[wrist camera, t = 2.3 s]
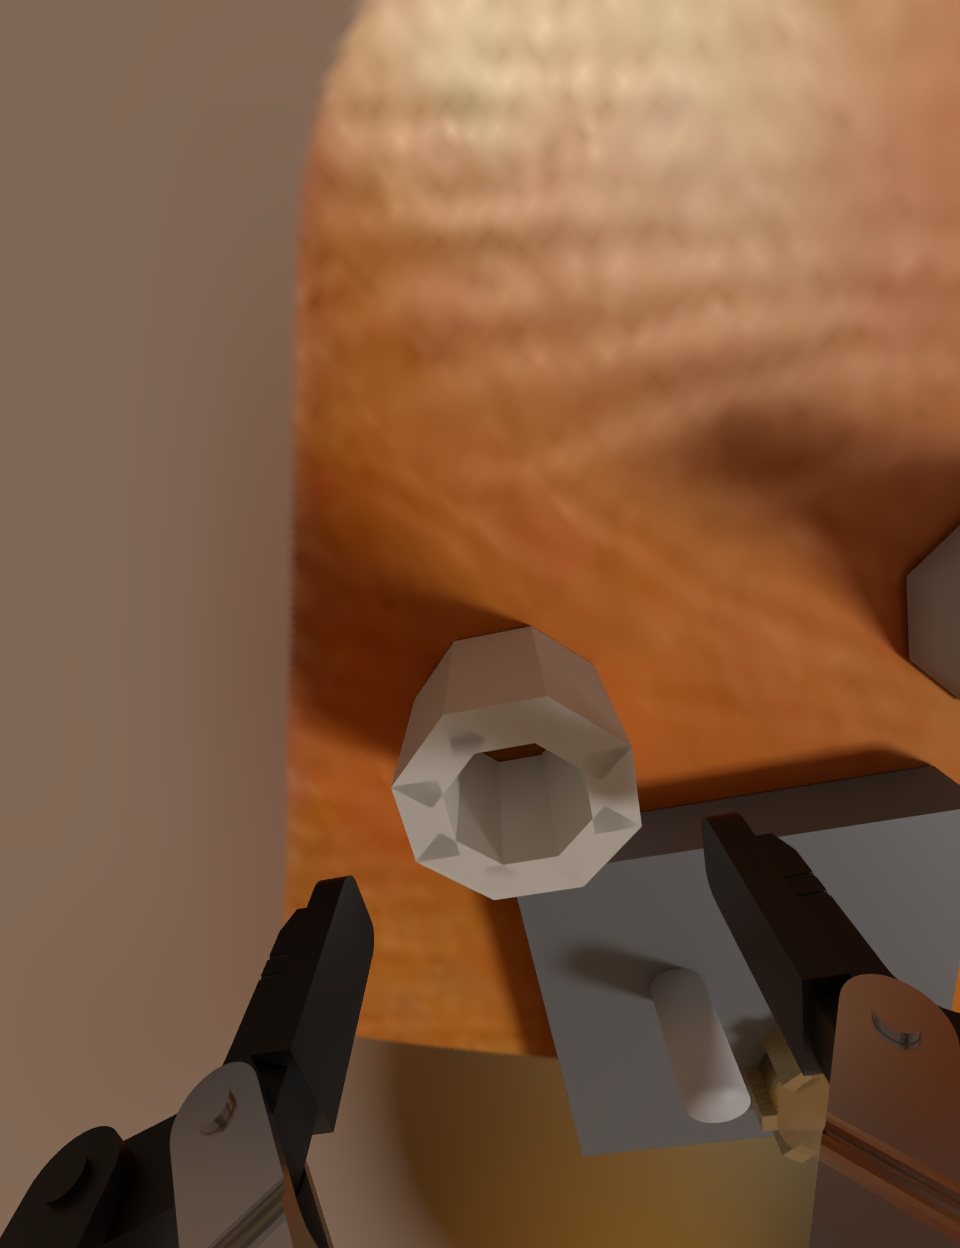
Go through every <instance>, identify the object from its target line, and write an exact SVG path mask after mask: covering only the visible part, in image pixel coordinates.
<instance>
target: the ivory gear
mask: <svg viewBox="0 0 960 1248" xmlns="http://www.w3.org/2000/svg"><path fill="white" fill-rule="evenodd" d="M533 743H536V744H537V745H539V746H541V747H543V748H544V749H545V751H544V752H543V753H542V754H541V755H537V756H531V757H525V758H519V759H514V760H508V761H502V762H498V761H496V760H495V759H493V758H491V757H489V756H487V755H485V754H484V753H482V752H487V751H493V750H498V749H504V748H510V747H515V746H521V745H527V744H533ZM391 789H392V792H393V794H394V797H395V800H396V803H397V806H398V809H399V812H400V815H401V818H402V821H403V824H404V827H405V830H406V833H407V836H408V839H409V842H410V845H411V848H412V851H413V854H414V856H415V859H416V862H417V863H419V864H421V865H423V866H425V867H427V868H429V869H431V870H434V871H436V872H438V873H440V874H442V875H444V876H446V877H448V878H450V879H452V880H454V881H456V882H458V883H460V884H462V885H464V886H466V887H468V888H470V889H472V890H474V891H476V892H478V893H480V894H482V895H485V896H487V897H489V898H491V899H493V900H498V899H505V898H512V897H518V896H525V895H532V894H538V893H545V892H552V891H559V890H565V889H572V888H579V887H584V886H585V885H586V884H587V883H588V882H589V881H590V879H591V878H592V877H593V876H594V875H595V874H596V873H597V872H598V871H599V870H600V869H601V868H602V867H603V866H604V865H605V864H606V863H607V862H608V861H609V860H610V859H611V858H612V857H613V856H614V855H615V854H616V853H617V852H618V851H619V850H620V848H621V847H622V846H623V845H624V844H625V843H626V842H627V841H628V840H629V839H630V838H631V837H632V836H633V835H634V834H635V833H636V832H637V831H638V830H639V829H640V828H641V827H642V824H641V816H640V808H639V800H638V793H637V785H636V777H635V769H634V762H633V754H632V746H631V744H630V741H629V739H628V737H627V735H626V733H625V731H624V729H623V726H622V724H621V722H620V720H619V718H618V716H617V713H616V711H615V709H614V707H613V705H612V703H611V701H610V698H609V696H608V694H607V692H606V690H605V688H604V686H603V683H602V681H601V679H600V677H599V675H598V673H597V670H596V668H595V666H594V665H593V664H591V663H589V662H588V661H586V660H585V659H583V658H581V657H580V656H578V655H577V654H575V653H573V652H572V651H570V650H568V649H567V648H565V647H564V646H562V645H560V644H559V643H557V642H556V641H554V640H552V639H551V638H549V637H548V636H546V635H544V634H543V633H541V632H539V631H538V630H536V629H535V628H533V627H531V626H529V627H524V628H519V629H514V630H509V631H504V632H499V633H494V634H488V635H483V636H478V637H473V638H468V639H463V640H458V641H454V642H453V644H452V645H451V646H450V648H449V649H448V651H447V652H446V654H445V655H444V657H443V658H442V660H441V661H440V663H439V664H438V666H437V667H436V668H435V670H434V671H433V673H432V674H431V676H430V677H429V679H428V680H427V682H426V683H425V685H424V686H423V688H422V689H421V690H420V692H419V693H418V695H417V696H416V698H415V700H414V703H413V707H412V711H411V715H410V718H409V722H408V726H407V730H406V733H405V737H404V741H403V745H402V748H401V752H400V756H399V760H398V763H397V767H396V771H395V774H394V778H393V782H392V786H391Z"/></svg>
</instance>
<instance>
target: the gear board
mask: <svg viewBox="0 0 960 1248" xmlns="http://www.w3.org/2000/svg"><path fill="white" fill-rule="evenodd" d="M732 812H738V813H739V814H740V815H741V816H742V817H743V818H744V820H745V821H746V823H747V824H748V826H749V827H750V829H751V830H752V831H753V833H754V834H755V836H756V835H762V834H768V833H772V834H774V835H775V836H777V837H778V838H780V839H781V840H782V841H784V842H785V843H787V844H788V845H790V846H791V847H793V848H794V849H795V850H796V851H797V852H798V853H799V854H800V856H801V857H802V858H803V860H804V861H805V862H806V864H807V865H808V866H809V867H810V869H811V870H812V871H813V874H814V876H816V877H817V878H818V879H819V880H820V882H821V883H822V884H823V886H824V887H825V888H826V890H827V892H828V894H829V895H831V896H832V897H833V899H834V900H835V901H836V903H837V904H838V905H839V906H840V908H841V909H842V910H843V912H844V913H845V914H846V916H847V917H848V918H849V919H850V921H851V922H852V923H853V925H854V926H855V927H856V929H857V930H858V931H859V932H860V934H861V935H862V936H863V938H864V939H865V940H866V942H867V943H868V944H869V945H870V947H871V948H872V949H873V951H874V952H875V953H876V955H877V956H878V957H879V958H880V960H881V961H882V962H883V964H884V965H885V966H886V967H887V969H888V970H889V971H890V972H891V973H892V974H893V975H894V976H895V977H896V978H897V979H898V980H900V981H902V982H904V983H907V984H908V985H910V986H912V987H914V988H916V989H917V990H919V991H920V992H922V993H923V994H924V995H926V996H927V997H928V998H929V999H931V1000H932V1001H933V1002H934V1003H935V1004H936V1005H938V1006H940V1007H942V1008H945V1009H948V1010H951V1008H952V1002H953V996H954V990H955V984H956V979H957V973H958V967H959V961H960V785H959V784H957V783H956V782H955V781H953V780H952V779H950V778H949V777H948V776H946V775H945V774H944V773H942V772H941V771H940V770H938V769H937V768H936V767H934V766H926V767H920V768H914V769H908V770H901V771H895V772H889V773H883V774H877V775H870V776H864V777H858V778H852V779H845V780H839V781H833V782H827V783H821V784H814V785H808V786H802V787H796V788H789V789H783V790H777V791H771V792H765V793H758V794H752V795H746V796H740V797H733V798H727V799H721V800H715V801H709V802H702V803H696V804H690V805H684V806H677V807H671V808H665V809H659V810H653V811H646V812H640V816H641V824H642V827H641V828H640V829H639V830H638V831H637V832H636V833H635V834H634V835H633V836H632V837H631V838H630V839H629V840H628V841H627V842H626V843H625V844H624V845H623V846H622V847H621V848H620V850H619V851H618V852H617V853H616V854H615V855H614V856H613V857H612V858H611V859H610V860H609V861H608V862H607V863H606V864H605V865H604V866H603V867H602V868H601V869H600V870H599V871H598V872H597V873H596V874H595V875H594V876H593V877H592V878H591V879H590V881H589V882H588V883H587V884H586V885H585V886H584V887H579V888H572V889H565V890H559V891H552V892H545V893H538V894H532V895H525V896H518V897H517V899H518V903H519V907H520V911H521V915H522V919H523V923H524V927H525V931H526V935H527V939H528V943H529V947H530V950H531V954H532V958H533V962H534V966H535V970H536V974H537V978H538V982H539V986H540V990H541V994H542V997H543V1001H544V1005H545V1009H546V1013H547V1017H548V1021H549V1025H550V1029H551V1033H552V1037H553V1041H554V1045H555V1048H556V1052H557V1056H558V1060H559V1064H560V1068H561V1072H562V1076H563V1080H564V1083H565V1088H566V1092H567V1095H568V1099H569V1103H570V1107H571V1111H572V1115H573V1119H574V1123H575V1127H576V1131H577V1135H578V1138H579V1143H580V1146H581V1150H582V1154H583V1156H588V1155H598V1154H607V1153H617V1152H627V1151H636V1150H646V1149H655V1148H665V1147H674V1146H683V1145H694V1144H703V1143H713V1142H722V1141H731V1140H742V1139H751V1138H761V1137H771V1136H775V1135H774V1133H773V1131H765V1132H763V1131H762V1129H761V1126H760V1124H759V1121H758V1119H757V1116H756V1114H755V1111H754V1109H753V1106H752V1103H751V1099H750V1096H749V1093H748V1091H747V1088H746V1086H745V1083H744V1074H743V1070H746V1069H755V1068H758V1067H759V1064H760V1061H761V1059H762V1057H763V1056H764V1054H765V1053H766V1052H767V1051H766V1049H765V1047H764V1045H763V1042H762V1039H763V1038H764V1037H766V1036H767V1035H768V1034H770V1033H771V1032H772V1031H774V1030H775V1029H776V1028H778V1027H779V1026H778V1024H777V1022H776V1020H775V1018H774V1016H773V1014H772V1012H771V1011H770V1009H769V1007H768V1005H767V1003H766V1001H765V999H764V997H763V995H762V993H761V991H760V989H759V987H758V985H757V983H756V981H755V979H754V977H753V975H752V973H751V971H750V969H749V967H748V965H747V963H746V961H745V959H744V957H743V955H742V953H741V951H740V949H739V947H738V945H737V943H736V941H735V939H734V937H733V935H732V933H731V931H730V929H729V927H728V925H727V923H726V921H725V919H724V918H723V916H722V914H721V912H720V910H719V908H718V906H717V904H716V902H715V899H714V897H713V895H712V892H711V889H710V886H709V883H708V879H707V875H706V869H705V859H704V849H703V838H702V827H701V820H702V818H703V817H708V816H714V815H720V814H726V813H732Z"/></svg>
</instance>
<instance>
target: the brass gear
mask: <svg viewBox="0 0 960 1248" xmlns="http://www.w3.org/2000/svg"><path fill="white" fill-rule="evenodd" d="M762 1042H763V1045H764V1047H765V1049H766V1051H767V1052H766V1053H765V1054H764V1056H763V1057H762V1059H761V1061H760V1064H759V1067H758V1068H755V1069H746V1070H743V1074H744V1083H745V1086H746V1088H747V1091H748V1093H749V1096H750V1099H751V1103H752V1106H753V1109H754V1111H755V1114H756V1116H757V1119H758V1121H759V1124H760V1126H761V1129H762V1131H763V1132H765V1131H773V1133H774V1135H775V1138H776V1140H777V1143H778V1145H779V1147H780V1150H781V1152H782V1155H783V1156H785V1157H788V1158H790V1159H792V1160H795V1161H797V1162H799V1163H802V1162H804V1161H806V1160H807V1159H809V1158H810V1157H816V1158H819V1153H820V1145H821V1138H822V1132H823V1129H824V1128H825V1123H826V1115H827V1106H828V1096H829V1087H830V1085H829V1083H828V1081H827V1079H826V1077H825V1076H824V1074H816V1075H808V1076H803V1074H802V1072H801V1070H800V1068H799V1066H798V1064H797V1062H796V1060H795V1058H794V1056H793V1054H792V1052H791V1050H790V1048H789V1046H788V1044H787V1042H786V1040H785V1038H784V1036H783V1034H782V1032H781V1030H780V1028H779V1027H778V1028H776V1029H775V1030H774V1031H772V1032H771V1033H770V1034H768V1035H767V1036H766V1037H764V1038H763V1039H762Z"/></svg>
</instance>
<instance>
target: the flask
mask: <svg viewBox="0 0 960 1248" xmlns="http://www.w3.org/2000/svg"><path fill="white" fill-rule="evenodd" d="M906 583H907V611H908V639H909V660H910V661H911V662H912V663H914V664H915V665H916V666H918V667H919V668H920V669H921V670H923V671H924V672H925V673H926V674H928V675H929V676H930V677H931V678H933V679H934V680H935V681H936V682H938V683H939V684H940V685H941V686H943V687H944V688H945V689H946V690H948V691H949V692H950V693H951V694H953V695H954V696H955V697H957V698H958V699H959V700H960V525H959V526H958V527H957V528H956V529H955V530H954V531H953V532H952V533H951V534H950V535H949V536H948V537H947V538H946V539H945V540H944V541H943V542H942V543H940V544H939V545H938V546H937V547H936V548H935V549H934V550H933V551H932V552H931V553H930V554H929V555H928V556H927V557H926V558H925V559H924V560H923V561H922V562H921V563H920V564H919V565H918V566H917V567H916V568H915V569H914V570H913V571H912V572H910V573H909V574H908V575H907V576H906Z"/></svg>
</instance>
